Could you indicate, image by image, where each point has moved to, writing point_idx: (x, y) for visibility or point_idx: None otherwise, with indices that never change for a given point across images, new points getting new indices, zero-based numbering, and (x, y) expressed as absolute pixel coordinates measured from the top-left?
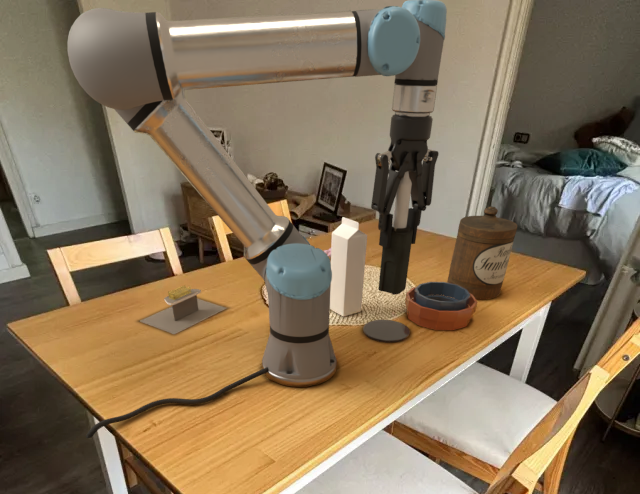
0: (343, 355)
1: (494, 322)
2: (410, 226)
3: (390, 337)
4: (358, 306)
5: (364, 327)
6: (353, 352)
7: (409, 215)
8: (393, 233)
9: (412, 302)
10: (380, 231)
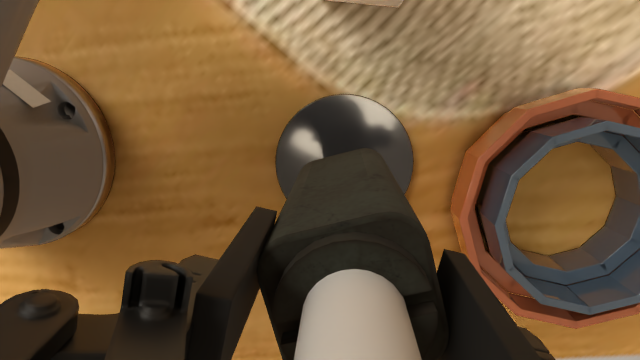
0: (155, 178)
1: (633, 326)
2: (455, 336)
3: None
4: (386, 2)
5: (303, 112)
6: (186, 184)
7: (486, 356)
8: (271, 321)
9: (472, 176)
10: (238, 234)
